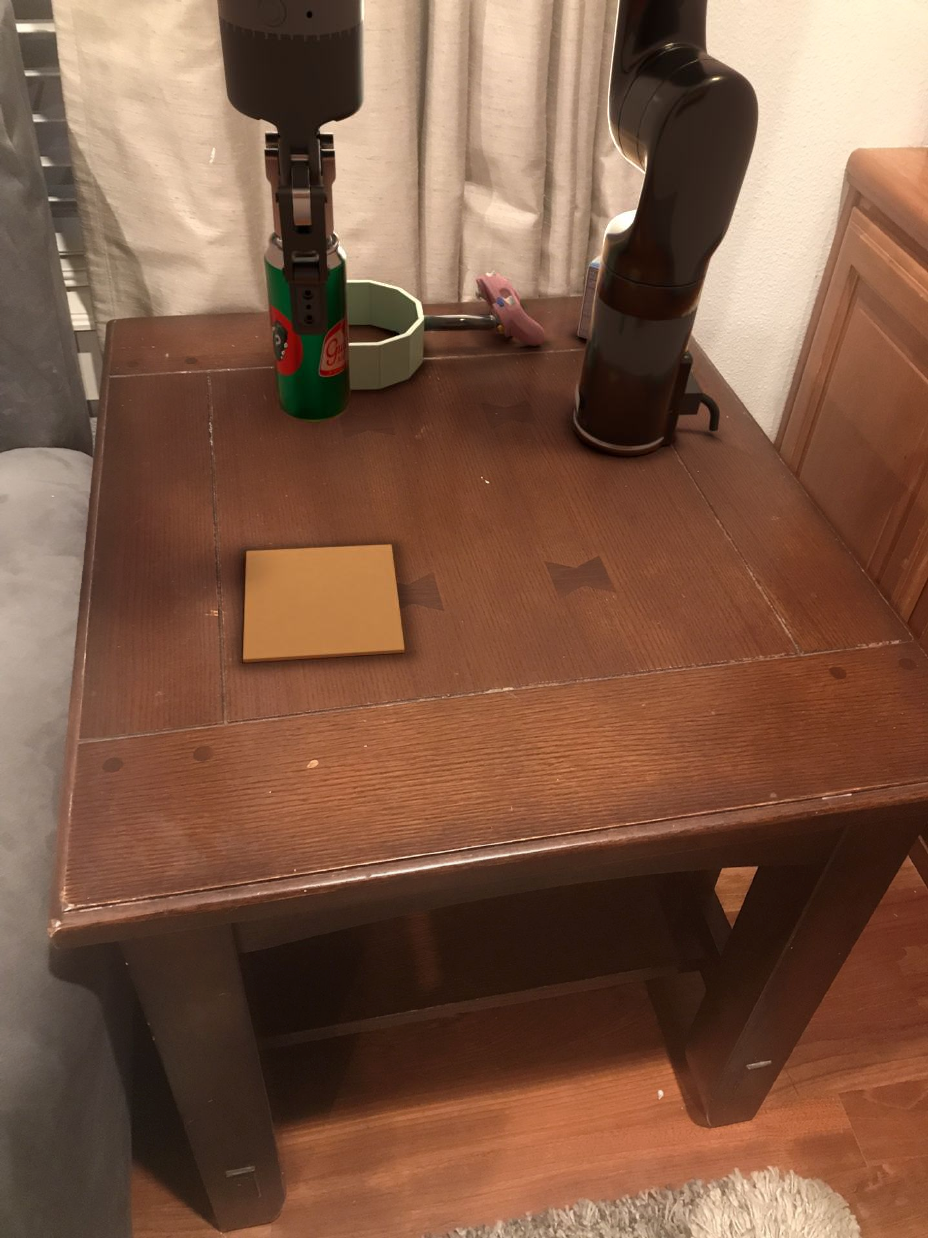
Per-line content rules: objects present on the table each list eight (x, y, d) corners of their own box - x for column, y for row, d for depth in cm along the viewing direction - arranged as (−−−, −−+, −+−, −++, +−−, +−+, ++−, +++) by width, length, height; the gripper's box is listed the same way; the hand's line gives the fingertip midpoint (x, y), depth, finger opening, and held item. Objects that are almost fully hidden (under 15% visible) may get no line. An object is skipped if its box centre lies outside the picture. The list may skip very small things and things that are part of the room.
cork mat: (391, 547, 80) (391, 544, 80) (404, 652, 72) (404, 649, 72) (246, 554, 79) (246, 550, 79) (243, 662, 71) (242, 659, 70)
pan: (485, 320, 108) (488, 278, 105) (504, 386, 99) (509, 342, 95) (292, 322, 105) (289, 280, 102) (294, 391, 96) (290, 346, 92)
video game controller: (485, 319, 111) (463, 270, 106) (519, 299, 111) (499, 249, 106) (513, 363, 105) (491, 314, 100) (550, 343, 104) (529, 292, 99)
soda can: (338, 432, 65) (331, 263, 56) (267, 420, 65) (249, 250, 57) (359, 393, 68) (355, 228, 60) (291, 381, 69) (278, 216, 60)
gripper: (372, 51, 45) (374, 368, 57) (356, -27, 55) (361, 258, 67) (209, 46, 44) (247, 370, 56) (223, -32, 54) (253, 258, 66)
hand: (309, 308), depth 62 cm, fingers closed on soda can, 5 cm apart
